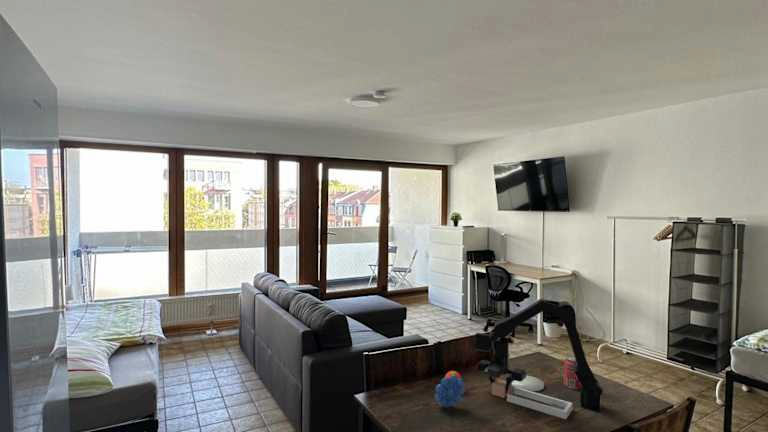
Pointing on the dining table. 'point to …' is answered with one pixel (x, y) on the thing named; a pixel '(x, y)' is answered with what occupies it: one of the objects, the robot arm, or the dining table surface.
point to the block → (499, 388)
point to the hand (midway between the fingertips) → (500, 391)
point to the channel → (555, 408)
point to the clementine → (453, 374)
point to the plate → (529, 384)
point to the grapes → (449, 391)
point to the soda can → (570, 373)
